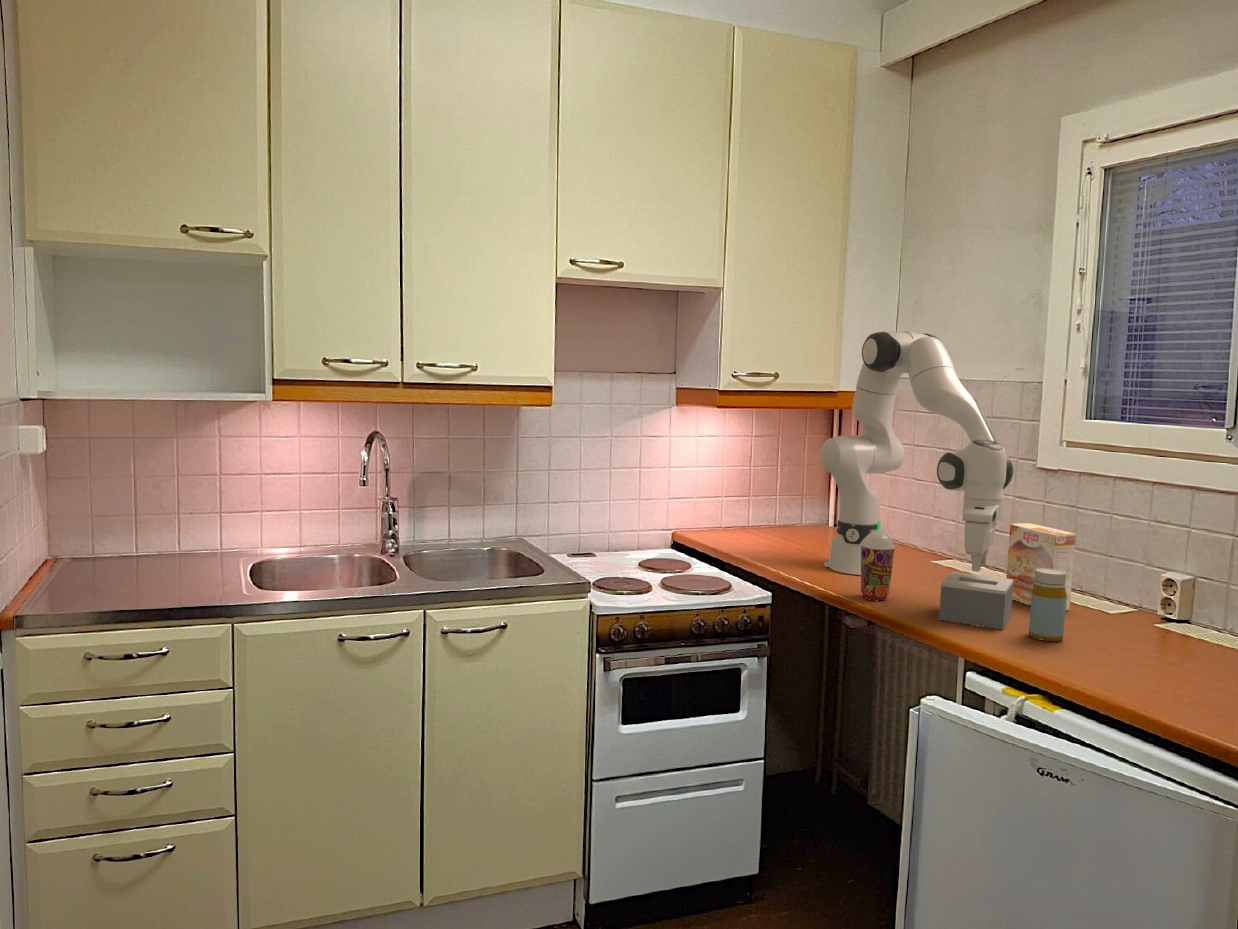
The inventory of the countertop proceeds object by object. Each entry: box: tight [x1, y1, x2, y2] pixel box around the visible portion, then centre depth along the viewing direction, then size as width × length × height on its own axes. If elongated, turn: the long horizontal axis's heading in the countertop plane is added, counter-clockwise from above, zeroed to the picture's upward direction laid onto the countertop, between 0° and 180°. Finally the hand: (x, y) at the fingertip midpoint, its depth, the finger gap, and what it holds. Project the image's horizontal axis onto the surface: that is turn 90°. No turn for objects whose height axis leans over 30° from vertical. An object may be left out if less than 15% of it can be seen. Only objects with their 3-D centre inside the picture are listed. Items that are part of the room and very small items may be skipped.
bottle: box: [1028, 568, 1067, 642], centre depth 209 cm, size 7×7×15 cm
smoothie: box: [860, 520, 896, 601], centre depth 240 cm, size 8×8×20 cm
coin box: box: [938, 571, 1013, 630], centre depth 224 cm, size 14×14×9 cm
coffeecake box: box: [1005, 522, 1077, 611], centre depth 239 cm, size 15×7×20 cm, turn 21°
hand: (978, 568), depth 223 cm, fingers open, 6 cm apart
